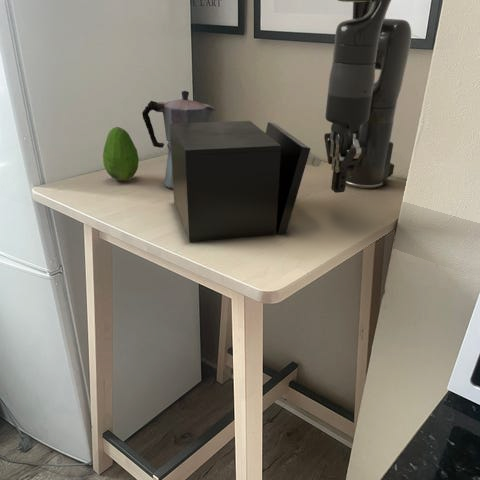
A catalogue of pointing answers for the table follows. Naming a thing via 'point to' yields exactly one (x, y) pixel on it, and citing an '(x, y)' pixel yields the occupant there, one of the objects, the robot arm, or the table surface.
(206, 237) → the oven
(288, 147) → the oven door
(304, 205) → the table surface
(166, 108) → the moka pot
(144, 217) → the table surface
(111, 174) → the avocado
